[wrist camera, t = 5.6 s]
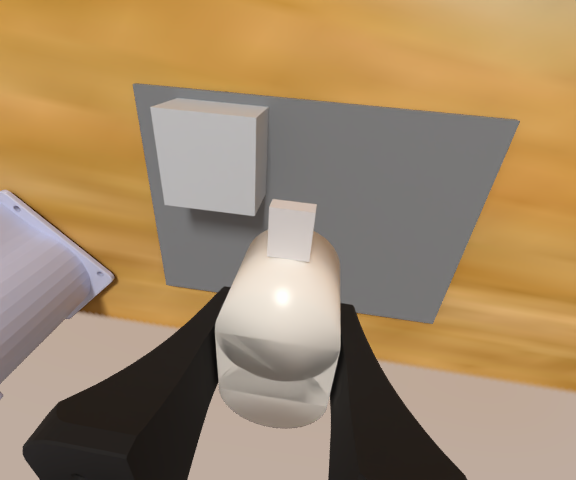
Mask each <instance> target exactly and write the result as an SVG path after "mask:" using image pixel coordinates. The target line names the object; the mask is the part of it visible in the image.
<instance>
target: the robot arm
mask: <svg viewBox="0 0 576 480" xmlns="http://www.w3.org/2000/svg"><path fill="white" fill-rule="evenodd" d="M113 280H114V275H113V274H112V273H111V272H110V271H109V270H108V269H106V268H105V267H104V266H103V265H101V264H100V263H99V262H98V261H96V260H95V259H94V258H93V257H91V256H90V255H89V254H88V253H86V252H85V251H84V250H83V249H81V248H80V247H79V246H78V245H76V244H75V243H74V242H73V241H71V240H70V239H69V238H68V237H66V236H65V235H64V234H63V233H61V232H60V231H59V230H58V229H56V228H55V227H54V226H53V225H51V224H50V223H49V222H48V221H46V220H45V219H44V218H43V217H41V216H40V215H39V214H38V213H36V212H35V211H34V210H33V209H31V208H30V207H29V206H28V205H26V204H25V203H24V202H22V201H21V200H20V199H19V198H17V197H16V196H15V195H14V194H12V193H11V192H10V191H8V190H2V191H0V384H1V383H2V381H4V379H6V377H7V376H9V374H10V373H12V371H14V369H16V368H17V366H19V364H21V363H22V362H23V361H24V359H25V358H27V356H28V355H29V354H30V353H31V352H32V351H33V350H34V349H35V348H36V347H37V346H38V345H39V344H40V343H41V342H42V341H43V340H44V339H45V338H46V337H47V336H48V335H49V334H50V333H51V332H52V331H53V330H54V329H55V328H56V327H57V326H58V325H59V324H60V323H61V322H62V321H63V320H64V319H70V318H71V317H73V316H74V315H75V314H76V313H77V312H78V311H79V310H80V309H82V308H83V307H84V306H85V305H86V304H87V303H88V302H90V301H91V300H92V299H93V298H94V297H95V296H96V295H97V294H99V293H100V292H101V291H102V290H103V289H104V288H105V287H107V286H108V285H109V284H110V283H111V282H112V281H113ZM230 288H231V287H226V286H224V287H223V288H221V289H220V291H219V292H218V293H217V294H216V295H215V296H214V297H213V298H212V299H211V300H210V301H209V302H208V303H207V304H206V305H205V306H204V307H203V308H202V309H201V310H200V311H199V312H198V313H197V314H196V315H195V316H194V317H193V318H192V319H191V320H189V321H188V322H187V323H186V324H185V325H184V326H183V327H181V328H180V329H179V330H178V331H177V332H176V333H174V334H173V335H172V336H171V337H170V338H168V339H167V340H166V341H165V342H163V343H162V344H161V345H159V346H158V347H156V348H155V349H154V350H152V351H151V352H149V353H148V354H146V355H145V356H143V357H142V358H141V359H139V360H137V361H136V362H134V363H133V364H131V365H130V366H128V367H126V368H125V369H123V370H121V371H119V372H118V373H116V374H114V375H112V376H111V377H109V378H108V379H105V380H104V381H102V382H100V383H98V384H96V385H94V386H92V387H90V388H88V389H86V390H84V391H82V392H79V393H77V394H75V395H73V396H71V397H69V398H67V399H65V400H62V401H60V402H59V403H58V404H57V405H56V406H55V407H54V408H53V409H52V410H51V412H49V414H48V415H47V416H46V417H45V419H44V420H43V421H42V423H41V424H40V425H39V426H38V428H37V429H36V430H35V432H34V433H33V434H32V435H31V437H30V438H29V439H28V440H27V442H26V443H25V444H24V446H23V456H24V458H25V460H26V461H27V462H28V464H29V465H30V467H31V468H32V469H33V471H34V472H35V473H36V475H37V476H38V477H39V479H40V480H187V478H188V475H189V471H190V468H191V464H192V460H193V457H194V453H195V450H196V447H197V443H198V440H199V436H200V433H201V430H202V426H203V423H204V420H205V417H206V413H207V410H208V407H209V404H210V401H211V399H212V396H213V393H214V391H215V389H216V386H217V384H218V368H217V354H216V340H215V324H216V320H217V317H218V315H219V313H220V311H221V308H222V306H223V304H224V302H225V299H226V297H227V295H228V293H229V290H230ZM340 326H341V346H340V353H339V357H338V361H337V366H336V370H335V374H334V379H333V383H332V387H331V392H330V406H331V439H330V460H329V479H328V480H467V479H466V476H465V475H464V474H463V473H462V472H461V471H460V470H459V469H458V467H457V466H456V465H455V464H454V463H453V462H452V461H451V460H450V459H449V458H448V457H447V456H446V455H445V454H444V453H443V451H442V450H441V449H440V448H439V447H438V446H437V445H436V444H435V442H434V441H433V440H432V439H431V438H430V436H429V435H428V434H427V433H426V432H425V430H424V429H423V428H422V427H421V425H420V424H419V423H418V421H417V420H416V419H415V418H414V416H413V415H412V414H411V412H410V411H409V410H408V409H407V407H406V406H405V404H404V403H403V401H402V400H401V399H400V397H399V396H398V394H397V393H396V391H395V390H394V388H393V387H392V385H391V384H390V382H389V381H388V379H387V377H386V375H385V374H384V372H383V370H382V368H381V367H380V365H379V363H378V361H377V359H376V357H375V355H374V353H373V352H372V349H371V347H370V345H369V343H368V341H367V339H366V337H365V334H364V332H363V330H362V327H361V325H360V322H359V320H358V317H357V314H356V311H355V307H354V306H353V305H351V304H344V303H340ZM2 397H3V394H2V393H1V392H0V399H1V398H2Z"/></svg>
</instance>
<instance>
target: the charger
mask: <svg viewBox="0 0 576 480" xmlns="http://www.w3.org/2000/svg"><path fill="white" fill-rule="evenodd" d="M150 109H151V116H152V123H153V129H154V136H155V143H156V150H157V156H158V163H159V170H160V177H161V184H162V190H163V197H164V204H165V205H169V206H177V207H185V208H193V209H201V210H209V211H217V212H225V213H233V214H241V215H249V216H255V215H256V213H257V211H258V209H259V207H260V204H261V202H262V200H263V198H264V196H265V194H266V169H267V140H268V111H269V107H265V106H255V105H245V104H235V103H224V102H214V101H204V100H194V99H184V98H176V99H173V100H170V101H167V102H164V103H161V104H158V105H155V106H152V107H150Z"/></svg>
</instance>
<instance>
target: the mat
mask: <svg viewBox="0 0 576 480" xmlns="http://www.w3.org/2000/svg"><path fill="white" fill-rule="evenodd" d="M133 89H134V95H135V101H136V107H137V113H138V119H139V125H140V131H141V137H142V143H143V148H144V154H145V160H146V166H147V172H148V178H149V184H150V190H151V196H152V202H153V208H154V214H155V220H156V226H157V231H158V237H159V243H160V249H161V255H162V261H163V267H164V273H165V279H166V285H171V286H178V287H184V288H191V289H198V290H205V291H212V292H219V291H220V289H221V288H223V287H224V286H226V287H231V286H232V284H233V281H234V279H235V277H236V275H237V272H238V270H239V268H240V266H241V263H242V261H243V259H244V257H245V254H246V252H247V250H248V248H249V246H250V244H251V242H252V241H253V240H254V239H255V238H256V237H257V236H258V235H259V234H261V233H262V232H264V231H266V230H268V222H269V206H270V204H271V202H272V199H277V200H285V201H293V202H302V203H310V204H317V207H316V214H315V222H314V230H313V231H315V232H317V233H318V234H320V235H322V236H323V237H324V238H325V239H327V240H328V241H329V242H330V243H331V245H332V246H333V247H334V249H335V251H336V252H337V255H338V257H339V261H340V303H344V304H351V305H353V306H354V307H355V311H356V313H362V314H369V315H376V316H383V317H390V318H397V319H403V320H410V321H417V322H424V323H431V324H433V322H434V320H435V317H436V315H437V313H438V310H439V308H440V306H441V303H442V301H443V299H444V296H445V294H446V292H447V289H448V287H449V285H450V283H451V280H452V278H453V276H454V273H455V271H456V269H457V266H458V264H459V262H460V259H461V257H462V255H463V252H464V250H465V248H466V245H467V243H468V241H469V238H470V236H471V234H472V231H473V229H474V227H475V225H476V222H477V220H478V218H479V215H480V213H481V211H482V208H483V206H484V204H485V201H486V199H487V197H488V194H489V192H490V190H491V187H492V185H493V183H494V180H495V178H496V176H497V173H498V171H499V169H500V166H501V164H502V162H503V160H504V157H505V155H506V153H507V150H508V148H509V146H510V143H511V141H512V139H513V136H514V134H515V132H516V129H517V127H518V125H519V122H520V121H518V120H515V119H505V118H494V117H484V116H473V115H463V114H452V113H442V112H431V111H421V110H410V109H400V108H389V107H379V106H368V105H358V104H347V103H337V102H326V101H316V100H305V99H295V98H284V97H274V96H263V95H253V94H242V93H232V92H221V91H211V90H200V89H190V88H179V87H169V86H158V85H148V84H137V83H136V84H133ZM176 98H184V99H194V100H204V101H214V102H224V103H235V104H245V105H255V106H265V107H269V111H268V140H267V169H266V194H265V196H264V198H263V200H262V202H261V204H260V207H259V209H258V211H257V213H256V215H255V216H249V215H241V214H233V213H225V212H217V211H209V210H201V209H193V208H185V207H177V206H169V205H165V204H164V197H163V190H162V184H161V177H160V170H159V163H158V156H157V150H156V143H155V136H154V129H153V123H152V116H151V109H150V107H152V106H155V105H158V104H161V103H164V102H167V101H170V100H173V99H176Z"/></svg>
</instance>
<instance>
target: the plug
mask: <svg viewBox="0 0 576 480" xmlns="http://www.w3.org/2000/svg"><path fill="white" fill-rule="evenodd" d="M316 207H317V204H310V203H302V202H293V201H285V200H277V199H272V202H271V204H270V206H269V222H268V230H266V231H264V232H262V233H261V234H259V235H258V236H257V237H256V238H255V239H254V240H253V241H252V242H251V244H250V246H249V248H248V250H247V252H246V254H245V257H244V259H243V261H242V263H241V266H240V268H239V270H238V272H237V275H236V277H235V279H234V281H233V284H232V286H231V288H230V290H229V293H228V295H227V297H226V299H225V302H224V304H223V306H222V308H221V311H220V313H219V315H218V317H217V320H216V324H215V340H216V354H217V368H218V382H219V391H220V394H221V397H222V399H223V401H224V402H225V403H226V405H227V406H228V407H229V408H230V409H231V410H233V411H234V412H235V413H236V414H238V415H240V416H241V417H243V418H245V419H247V420H249V421H251V422H254V423H256V424H260V425H263V426H268V427H273V428H297V427H302V426H306V425H308V424H311V423H313V422H315V421H317V420H318V419H319V418H320V417H321V416H322V415H323V414H324V412H325V411H326V408H327V404H328V400H329V396H330V392H331V387H332V383H333V379H334V374H335V370H336V366H337V361H338V357H339V353H340V346H341V326H340V261H339V257H338V255H337V252H336V251H335V249H334V247H333V246H332V245H331V243H330V242H329V241H328V240H327V239H325V238H324V237H323V236H322V235H320V234H318V233H317V232H315V231H313V230H314V222H315V214H316Z"/></svg>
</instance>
